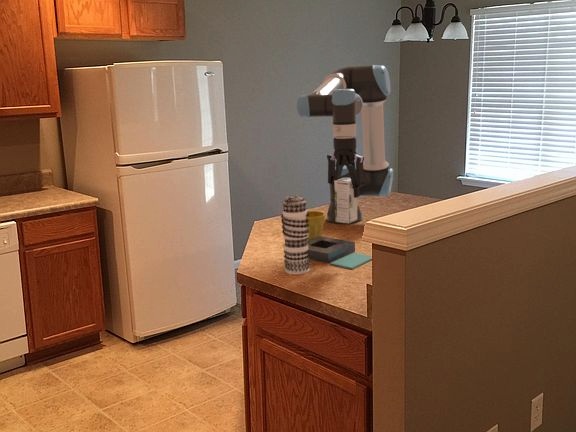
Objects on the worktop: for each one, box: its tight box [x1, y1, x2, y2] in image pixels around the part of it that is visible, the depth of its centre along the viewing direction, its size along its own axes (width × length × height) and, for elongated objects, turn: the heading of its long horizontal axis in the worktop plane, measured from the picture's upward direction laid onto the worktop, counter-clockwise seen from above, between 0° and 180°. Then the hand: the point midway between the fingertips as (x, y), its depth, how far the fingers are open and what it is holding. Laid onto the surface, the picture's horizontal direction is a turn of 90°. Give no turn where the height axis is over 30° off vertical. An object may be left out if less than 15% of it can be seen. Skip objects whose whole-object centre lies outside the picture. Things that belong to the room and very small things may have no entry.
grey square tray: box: [307, 235, 356, 264], centre depth 226 cm, size 16×16×4 cm
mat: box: [329, 252, 372, 270], centre depth 216 cm, size 14×9×1 cm, turn 140°
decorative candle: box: [280, 194, 311, 275], centre depth 208 cm, size 9×9×25 cm
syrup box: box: [334, 178, 358, 224], centre depth 213 cm, size 6×6×14 cm
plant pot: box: [306, 210, 326, 240], centre depth 246 cm, size 10×10×10 cm
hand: (346, 205), depth 213 cm, fingers closed on syrup box, 6 cm apart
